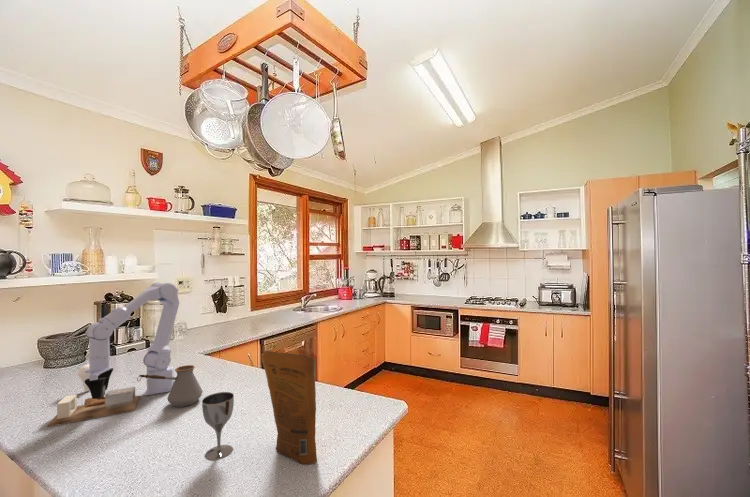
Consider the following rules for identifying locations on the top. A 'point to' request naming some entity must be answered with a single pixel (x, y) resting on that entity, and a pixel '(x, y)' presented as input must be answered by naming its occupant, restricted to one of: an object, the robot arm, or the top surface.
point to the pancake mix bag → (293, 403)
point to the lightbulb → (84, 376)
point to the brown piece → (96, 400)
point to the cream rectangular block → (66, 406)
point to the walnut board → (93, 413)
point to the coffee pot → (182, 386)
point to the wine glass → (218, 420)
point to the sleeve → (120, 397)
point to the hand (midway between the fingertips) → (99, 394)
